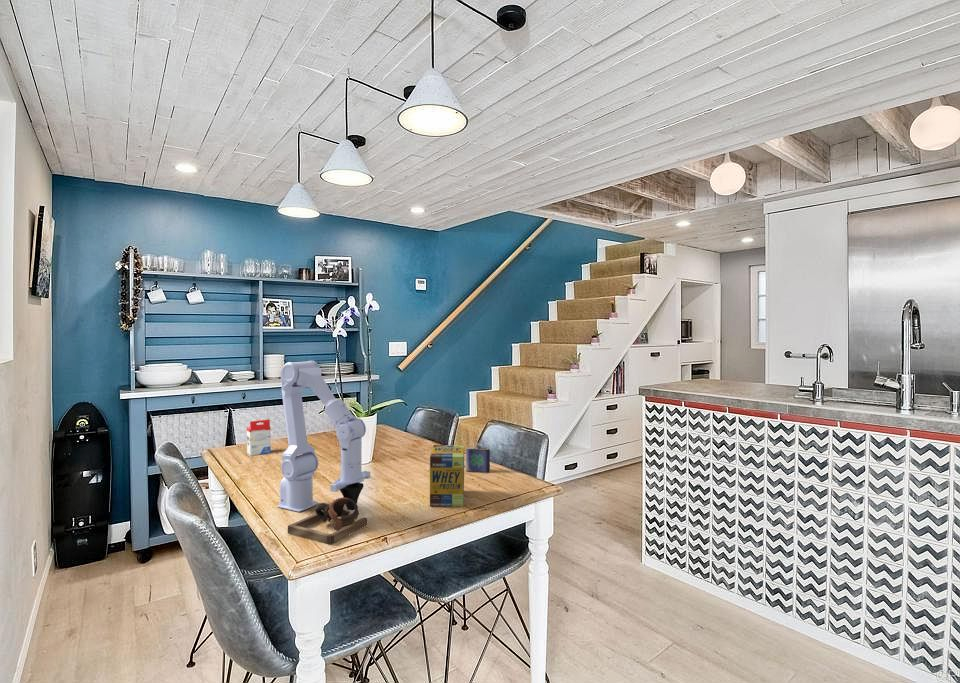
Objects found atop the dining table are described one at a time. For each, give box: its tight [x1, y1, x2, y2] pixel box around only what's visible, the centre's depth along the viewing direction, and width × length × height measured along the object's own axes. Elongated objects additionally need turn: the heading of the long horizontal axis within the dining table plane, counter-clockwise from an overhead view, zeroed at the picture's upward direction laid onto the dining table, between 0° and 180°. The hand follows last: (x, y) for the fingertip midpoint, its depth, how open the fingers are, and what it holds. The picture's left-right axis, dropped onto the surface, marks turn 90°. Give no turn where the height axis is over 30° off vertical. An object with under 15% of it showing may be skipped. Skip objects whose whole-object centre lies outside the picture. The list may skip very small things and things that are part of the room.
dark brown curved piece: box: [314, 497, 360, 532], centre depth 136 cm, size 12×10×8 cm
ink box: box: [246, 419, 272, 457], centre depth 213 cm, size 8×5×15 cm, turn 130°
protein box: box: [429, 444, 465, 507], centre depth 158 cm, size 10×15×16 cm
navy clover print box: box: [465, 442, 491, 474], centre depth 188 cm, size 9×3×11 cm, turn 79°
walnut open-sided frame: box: [287, 511, 368, 545], centre depth 133 cm, size 15×14×2 cm
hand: (351, 509), depth 141 cm, fingers closed
